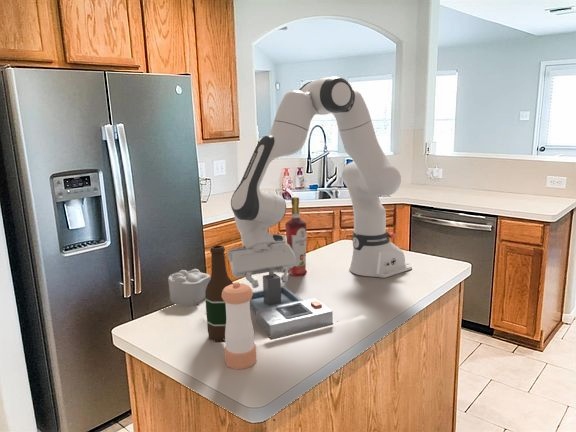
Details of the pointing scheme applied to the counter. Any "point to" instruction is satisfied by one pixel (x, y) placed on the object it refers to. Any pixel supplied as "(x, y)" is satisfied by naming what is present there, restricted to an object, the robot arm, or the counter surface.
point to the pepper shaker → (239, 327)
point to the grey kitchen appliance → (294, 318)
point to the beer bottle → (217, 295)
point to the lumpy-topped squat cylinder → (188, 287)
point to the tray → (286, 298)
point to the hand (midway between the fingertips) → (270, 284)
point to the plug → (272, 288)
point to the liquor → (297, 239)
